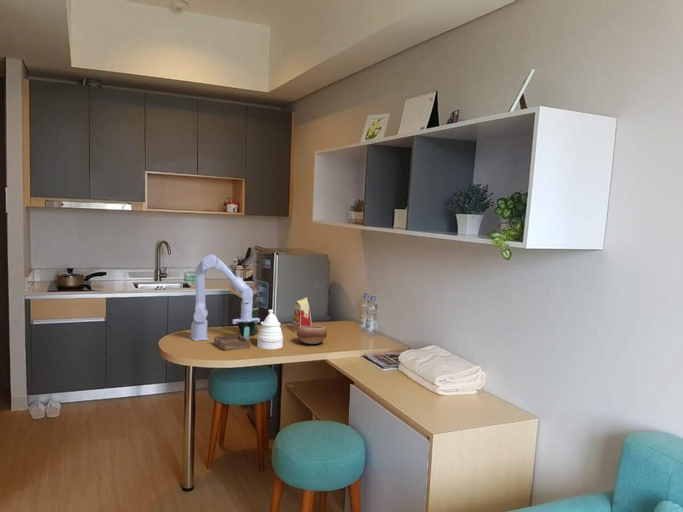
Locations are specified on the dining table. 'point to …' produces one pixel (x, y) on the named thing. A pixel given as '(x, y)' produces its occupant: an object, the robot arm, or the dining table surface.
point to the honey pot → (270, 333)
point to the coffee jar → (254, 315)
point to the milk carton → (301, 314)
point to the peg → (246, 332)
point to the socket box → (232, 342)
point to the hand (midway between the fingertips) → (245, 336)
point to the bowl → (311, 334)
